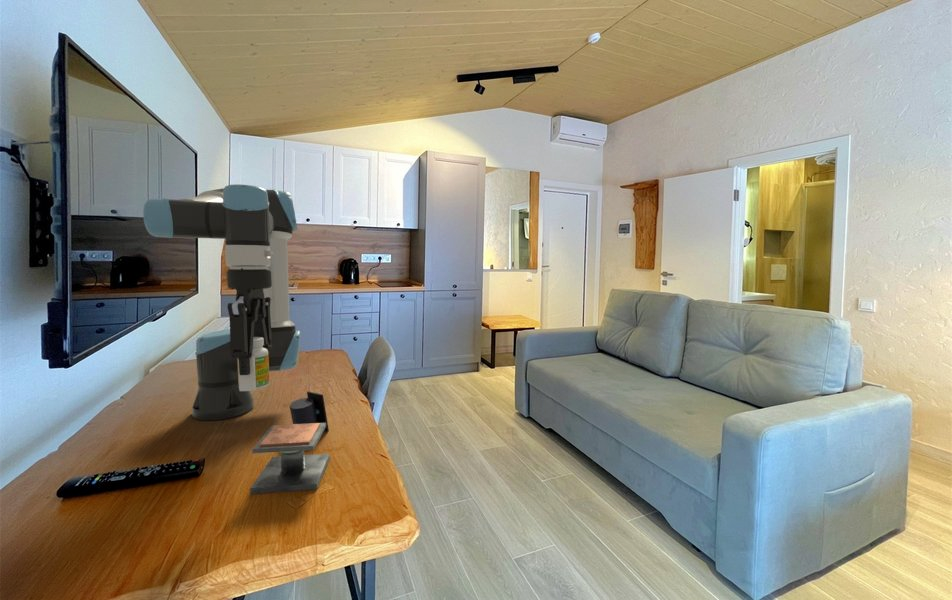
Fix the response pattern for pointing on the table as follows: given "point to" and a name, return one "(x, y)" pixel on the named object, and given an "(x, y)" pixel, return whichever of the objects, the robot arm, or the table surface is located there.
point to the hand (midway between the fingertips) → (254, 385)
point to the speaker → (309, 410)
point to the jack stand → (291, 459)
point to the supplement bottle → (260, 363)
